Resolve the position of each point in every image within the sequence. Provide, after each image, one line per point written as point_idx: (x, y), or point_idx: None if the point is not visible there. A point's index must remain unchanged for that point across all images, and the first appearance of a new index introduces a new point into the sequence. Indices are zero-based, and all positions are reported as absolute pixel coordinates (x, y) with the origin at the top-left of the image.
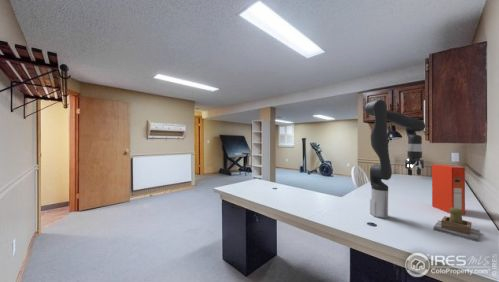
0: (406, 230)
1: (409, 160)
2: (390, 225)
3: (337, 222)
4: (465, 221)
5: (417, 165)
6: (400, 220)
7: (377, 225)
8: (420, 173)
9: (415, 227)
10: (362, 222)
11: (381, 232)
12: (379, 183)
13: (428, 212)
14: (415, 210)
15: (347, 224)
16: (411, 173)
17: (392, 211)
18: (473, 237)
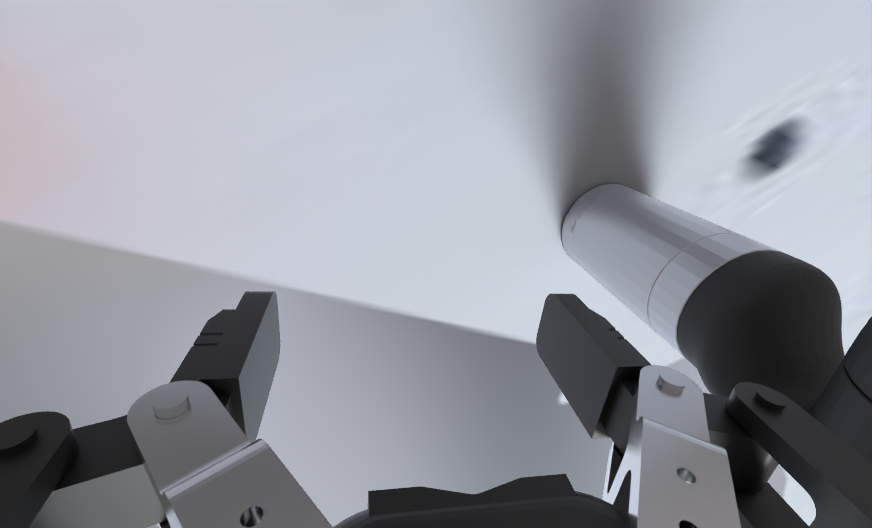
0: (731, 4)
1: None
2: (718, 96)
3: (866, 223)
4: None
5: (397, 512)
6: (581, 125)
7: (772, 125)
8: (262, 305)
9: (633, 7)
10: (784, 183)
11: (857, 51)
12: (820, 335)
13: (182, 153)
14: (246, 217)
15: (861, 189)
16: (589, 310)
17: (445, 252)
18: None
